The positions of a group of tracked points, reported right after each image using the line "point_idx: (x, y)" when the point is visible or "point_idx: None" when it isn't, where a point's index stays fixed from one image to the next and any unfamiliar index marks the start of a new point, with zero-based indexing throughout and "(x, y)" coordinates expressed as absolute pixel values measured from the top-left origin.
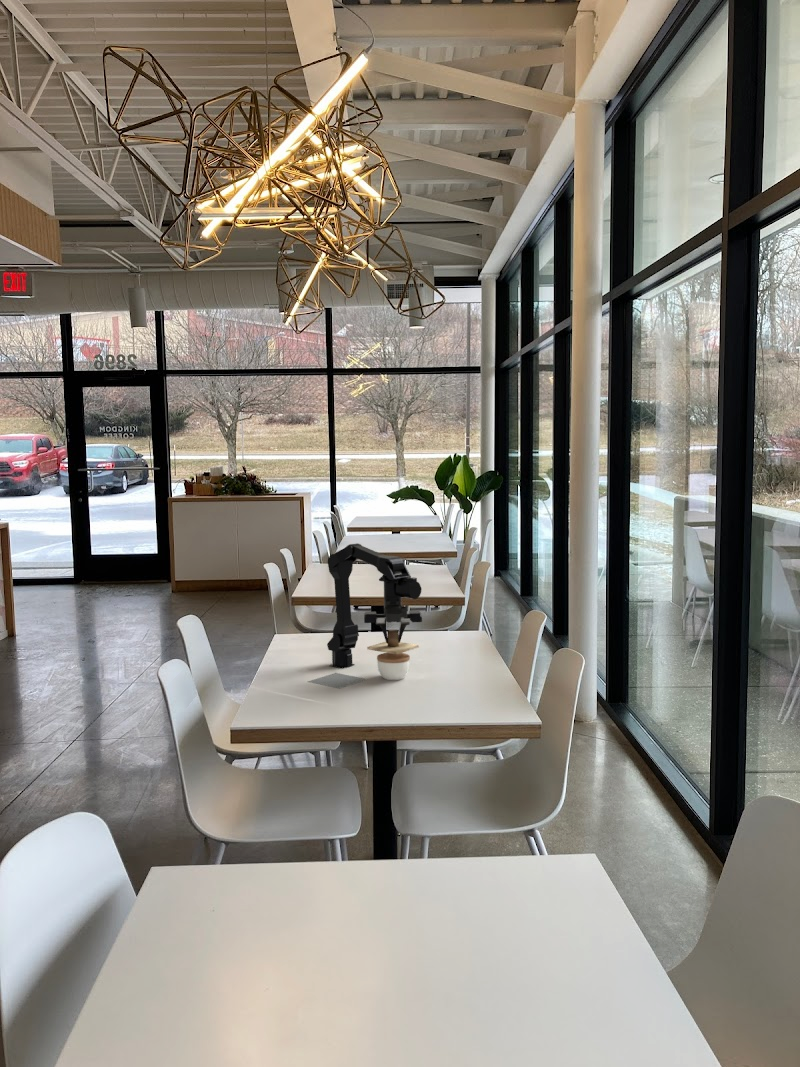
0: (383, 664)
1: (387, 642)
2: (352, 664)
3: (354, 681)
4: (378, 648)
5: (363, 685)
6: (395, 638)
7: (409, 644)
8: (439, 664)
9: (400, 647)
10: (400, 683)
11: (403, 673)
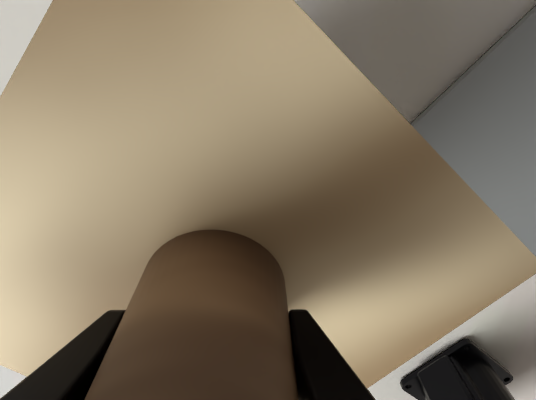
0: None
1: (292, 314)
2: (411, 385)
3: (488, 92)
4: (431, 174)
5: (445, 12)
6: (146, 330)
7: (15, 341)
8: (16, 382)
9: (106, 206)
10: None
11: None
